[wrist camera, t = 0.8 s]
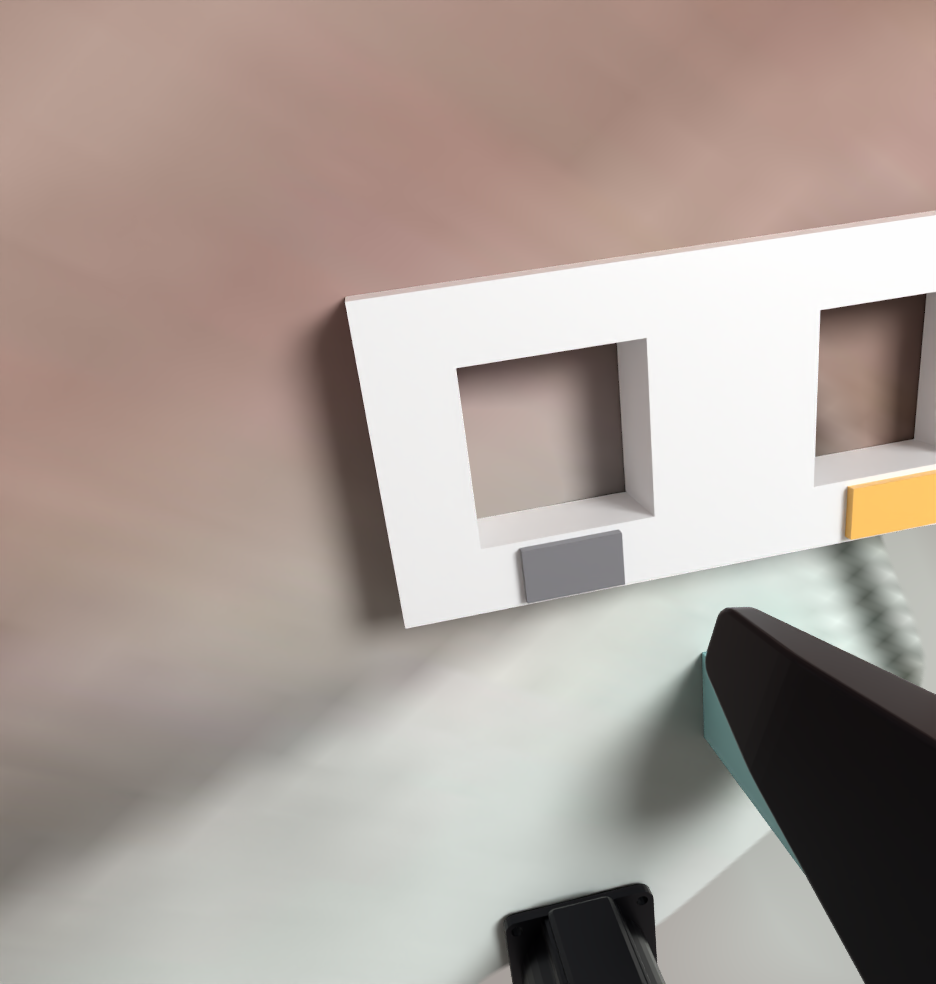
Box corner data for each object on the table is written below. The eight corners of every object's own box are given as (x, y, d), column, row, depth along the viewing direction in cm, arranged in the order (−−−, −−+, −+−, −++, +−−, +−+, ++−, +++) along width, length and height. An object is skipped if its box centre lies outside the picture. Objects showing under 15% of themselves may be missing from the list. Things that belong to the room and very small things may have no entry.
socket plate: (974, 482, 27) (1042, 507, 24) (400, 592, 24) (405, 633, 22) (1008, 199, 23) (1091, 192, 21) (345, 296, 21) (344, 303, 18)
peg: (795, 716, 29) (950, 876, 22) (704, 736, 29) (829, 907, 21) (797, 632, 28) (963, 772, 20) (702, 652, 27) (835, 803, 20)
